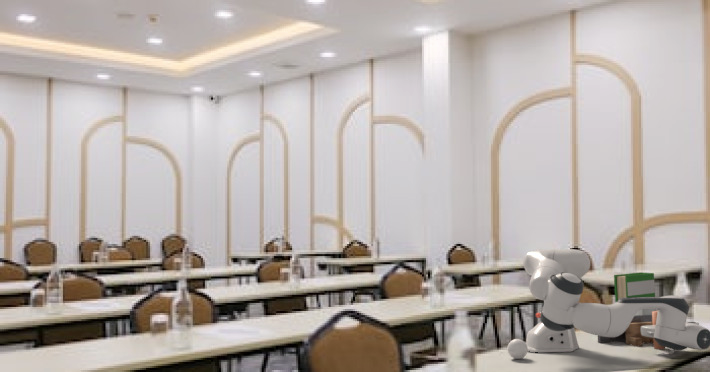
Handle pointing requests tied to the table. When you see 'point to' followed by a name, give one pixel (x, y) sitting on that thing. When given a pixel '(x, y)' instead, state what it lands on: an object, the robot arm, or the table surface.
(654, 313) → the dowel
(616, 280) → the hardback book
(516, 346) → the seamed sphere
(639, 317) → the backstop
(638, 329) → the notch block
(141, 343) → the table surface
